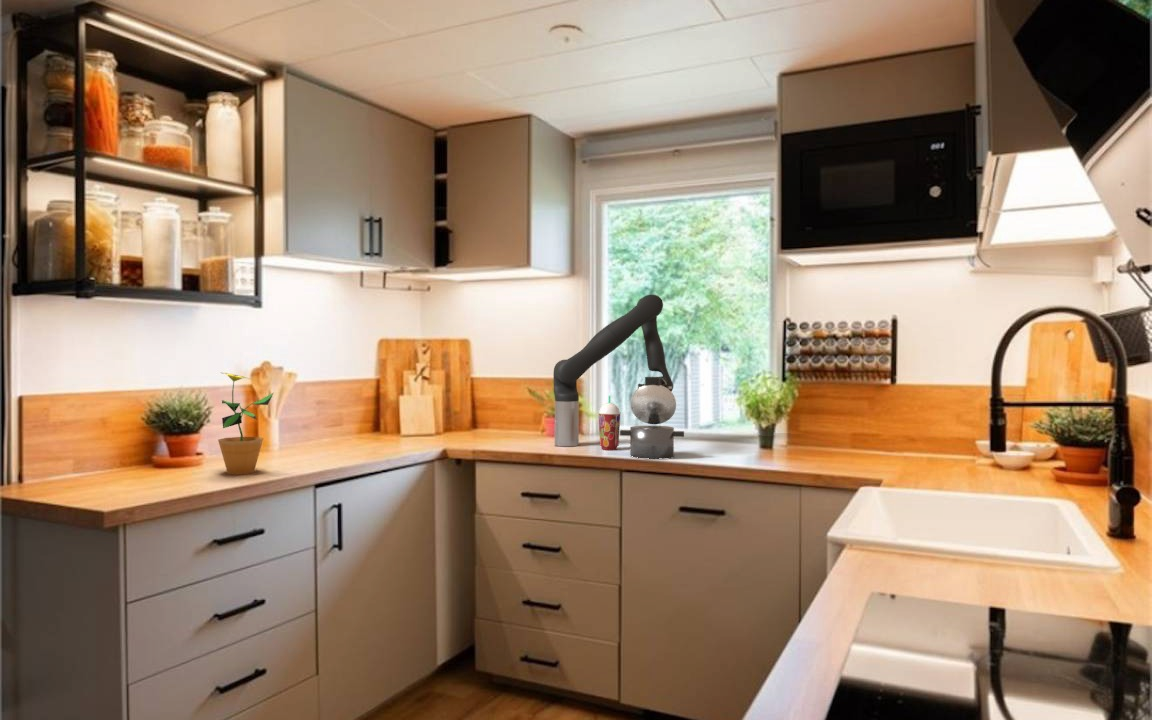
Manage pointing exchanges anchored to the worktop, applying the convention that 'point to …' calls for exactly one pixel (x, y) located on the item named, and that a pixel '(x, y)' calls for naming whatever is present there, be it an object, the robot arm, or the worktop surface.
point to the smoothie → (609, 426)
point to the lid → (653, 402)
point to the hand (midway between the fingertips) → (653, 388)
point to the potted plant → (240, 439)
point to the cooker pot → (652, 441)
